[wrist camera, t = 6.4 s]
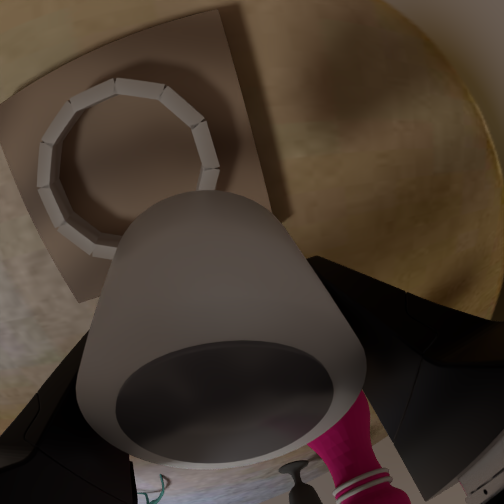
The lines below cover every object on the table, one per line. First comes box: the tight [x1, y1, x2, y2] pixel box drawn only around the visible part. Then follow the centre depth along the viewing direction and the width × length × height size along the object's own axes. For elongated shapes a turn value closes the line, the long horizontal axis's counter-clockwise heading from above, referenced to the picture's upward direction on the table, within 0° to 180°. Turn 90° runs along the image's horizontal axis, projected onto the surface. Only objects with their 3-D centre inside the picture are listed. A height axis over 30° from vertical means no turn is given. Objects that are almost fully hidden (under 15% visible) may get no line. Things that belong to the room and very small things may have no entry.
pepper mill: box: [307, 390, 411, 504], centre depth 21 cm, size 7×7×20 cm
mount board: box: [0, 9, 272, 303], centre depth 16 cm, size 14×14×3 cm
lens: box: [76, 190, 367, 469], centre depth 8 cm, size 6×6×5 cm
